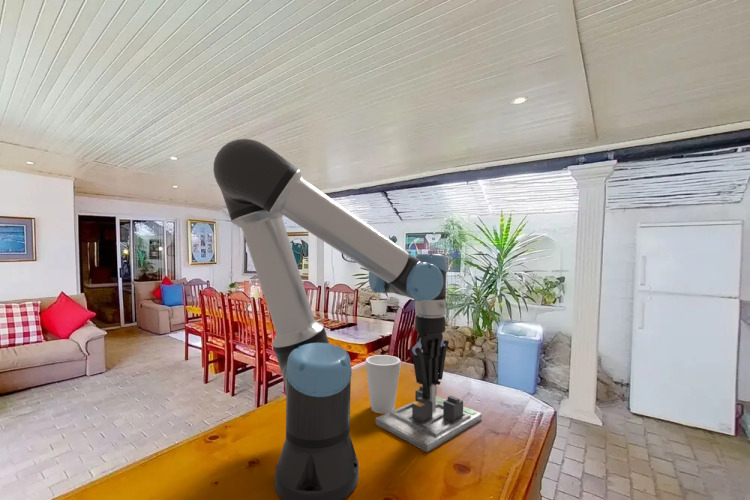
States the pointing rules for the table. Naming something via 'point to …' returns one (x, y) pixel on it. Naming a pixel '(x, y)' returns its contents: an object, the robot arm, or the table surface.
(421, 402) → the breaker
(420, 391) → the block
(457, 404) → the breaker
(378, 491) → the table surface
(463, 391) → the table surface
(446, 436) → the panel
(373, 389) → the foam cup
